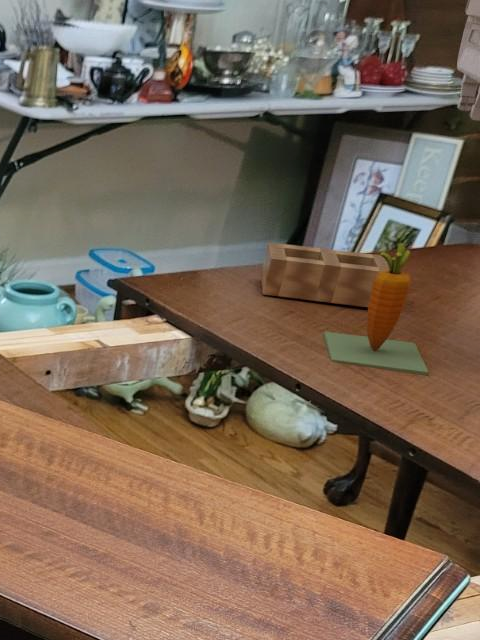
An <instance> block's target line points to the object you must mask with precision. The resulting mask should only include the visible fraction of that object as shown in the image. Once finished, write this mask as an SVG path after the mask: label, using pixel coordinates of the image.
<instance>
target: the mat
mask: <svg viewBox="0 0 480 640" xmlns="http://www.w3.org/2000/svg"><path fill="white" fill-rule="evenodd" d="M322 336H323V340H324V343H325V346H326V350H327V352H328V356H329V359H330V362H331V363H338V364H345V365H351V366H359V367H364V368H372V369H379V370H386V371H392V372H399V373H404V374H405V373H406V374H412V375H418V376H429V373H430V371H429V370H428V367H427V366H426V363H425V361H424V360H423V357H422V355H421V353H420V351H419V348H418V346H417V345H416V343H415V342H411V341H404V340H403V341H402V340H395V339H388V338H387V339H386V341H385V342H384V343H383V344H382V346H381V347H380V348H379V349H378V350H376V351H373V350H372V348H371V347H370V343H369V339H368V336H364V335H356V334H350V333H349V334H347V333H340V332H332V331H325V330H324V332H323V335H322Z"/></svg>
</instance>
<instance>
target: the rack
mask: <svg viewBox="0 0 480 640" xmlns="http://www.w3.org/2000/svg"><path fill="white" fill-rule="evenodd" d="M380 255H381V254H374V253H373V254H372V253H365V252H364V253H363V252H355V251H347V250H337V249H329V248H320V247H314V246H313V247H312V246H303V245H295V244H288V243H279V242H278V243H277V242H268V243H267V247H266V252H265V256H264V260H263V265H262V268H261V272H260V283H261V284H260V285H261V291H262V295H265V296H273V297H281V298H290V299H296V300H297V299H298V300H303V301H304V300H306V301H314V302H321V303H328V304H337V305H345V306H352V307H353V306H354V307H362V308H368V306H369V301H370V296H371V291H372V287H373V283H374V280H375V278H376V276H377V275H378V273H380V272H381V271H384V270H389V265H388V263H387V261H386V260H385V259H384V258H383V257H382V256H380Z"/></svg>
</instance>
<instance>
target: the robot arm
mask: <svg viewBox="0 0 480 640" xmlns="http://www.w3.org/2000/svg"><path fill="white" fill-rule="evenodd" d="M465 14H466V15H467V19H466V22H465V25H464V29H463V33H462V38H461V42H460V46H459V49H458V50H459V51H458V55H457V62H456V69H457V71H459V72H460V73H462V74H463V76H462V79H461V80H462V81H461V86H460V93H459V94H460V95H459V99H458V103H457V104H456V105H457V107H456V108H457V109H458V110H459V111H463V112H469V118H470V119H471V120H473V121H480V86H479V85H480V0H467V2H466V5H465ZM476 94H477V96H476Z"/></svg>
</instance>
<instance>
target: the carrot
mask: <svg viewBox="0 0 480 640" xmlns="http://www.w3.org/2000/svg"><path fill="white" fill-rule="evenodd" d="M379 255H380V256H382V257H383V258H384V259H385V260H386V261H387V263H388V265H389V270H384V271H381V272H380V273H378V275H377V276H376V278H375V280H374V283H373V287H372V291H371V296H370V301H369V306H368V307H367V317H366V331H367V332H366V333H367V337H368V339H369V343H370V347H371V348H372V350H373V351H376V350H378V349H379V348H380V347H381V346H382V344H383V343H384V342H385V341H386V339H388V338H389V337H390V335H391V334H392V332H393V330H394V329H395V327H396V325H397V324H398V323H397V322H398V321H399V318H400V316H401V314H402V312H403V309H404V306H405V304H406V301H407V297H408V295H409V291H410V288H411V284H412V277H411V276H410V275H409V274H408V273H406V272H403V271H402V269H403V267H404V266H405V264H406V263H407V261H408V259H409V258H410V257H411V251H410V250H407V249H406V245H405V244H404V243H401V242H400V243H398V244H397V252H395V256H394V257H391V256H390V254H388V253H387V252H385V251H383V252H381V253H380V254H379Z"/></svg>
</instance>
